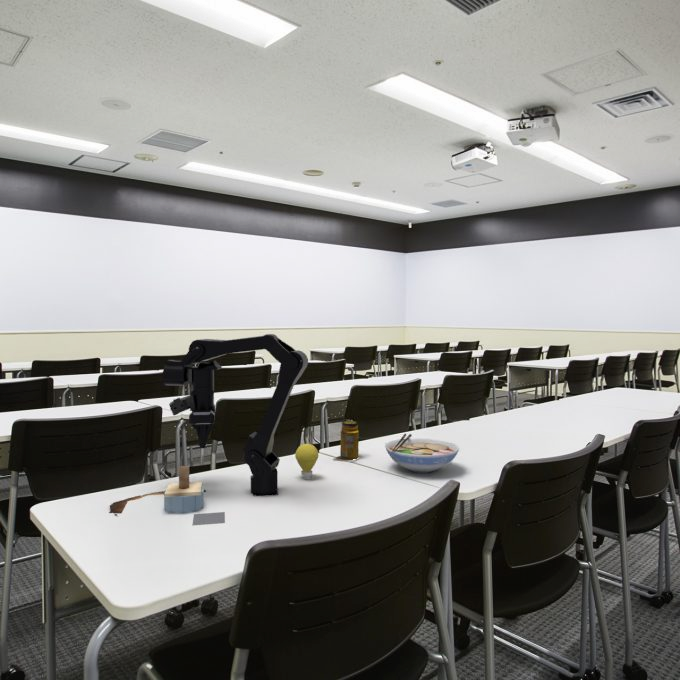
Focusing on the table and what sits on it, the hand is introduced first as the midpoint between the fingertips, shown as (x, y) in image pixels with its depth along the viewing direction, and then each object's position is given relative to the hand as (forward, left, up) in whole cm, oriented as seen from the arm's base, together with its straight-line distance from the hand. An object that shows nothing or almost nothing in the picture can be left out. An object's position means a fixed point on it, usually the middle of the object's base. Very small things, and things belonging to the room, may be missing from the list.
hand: (203, 444), depth 145 cm
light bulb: (-29, -6, -13) cm, 32 cm away
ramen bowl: (-65, -8, -13) cm, 67 cm away
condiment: (-46, -26, -13) cm, 54 cm away
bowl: (+4, +14, -12) cm, 19 cm away
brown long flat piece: (+11, +6, -13) cm, 18 cm away
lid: (+4, +14, -8) cm, 17 cm away
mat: (-2, +23, -12) cm, 26 cm away
